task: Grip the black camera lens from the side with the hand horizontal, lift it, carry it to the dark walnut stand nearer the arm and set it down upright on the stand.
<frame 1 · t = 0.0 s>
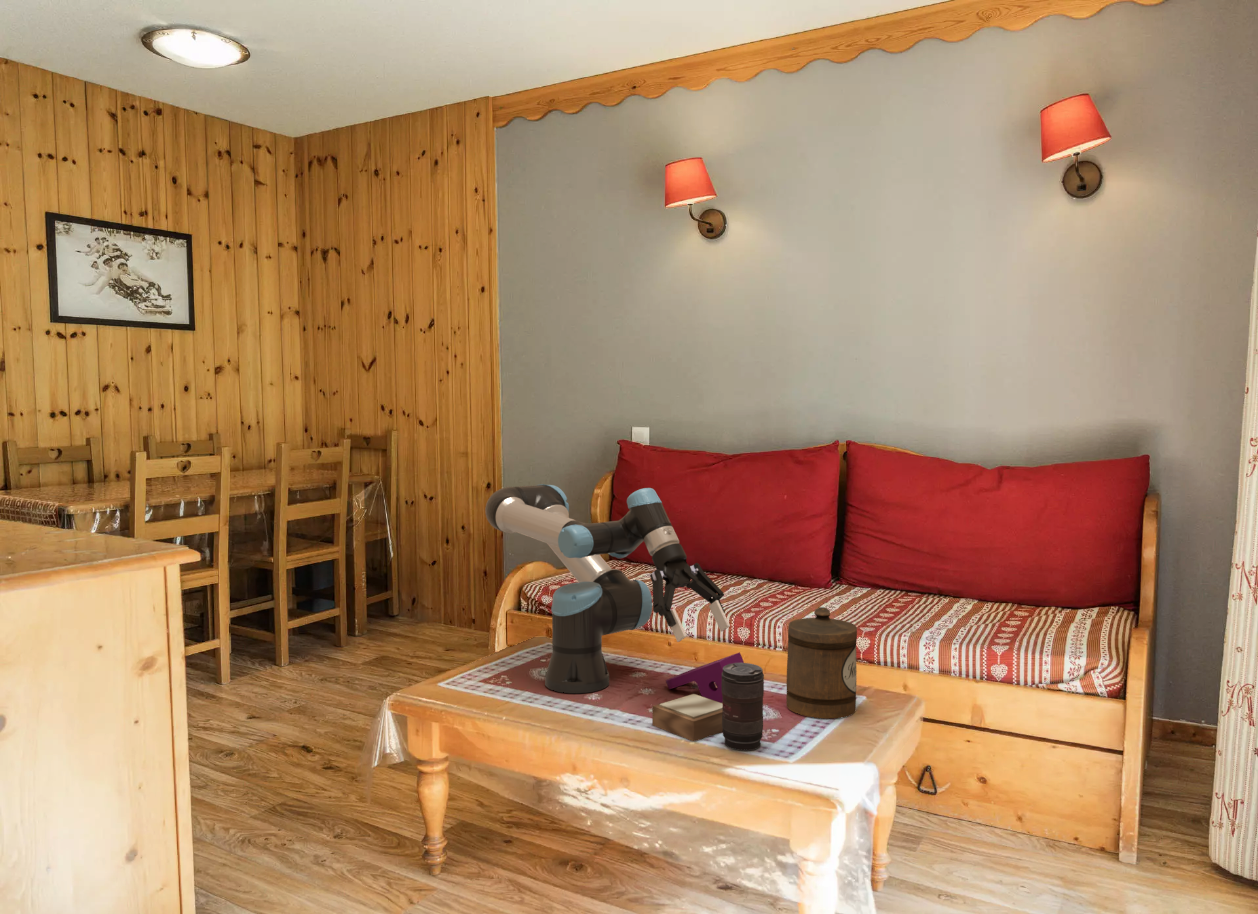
hand: (704, 634, 194), 15 cm above the table, tool tilted 35°, fingers open, 13 cm apart
mounting bracket: (703, 694, 202), on the table
stand: (693, 726, 180), on the table
camera lens: (742, 745, 170), on the table
wooden container: (820, 708, 191), on the table
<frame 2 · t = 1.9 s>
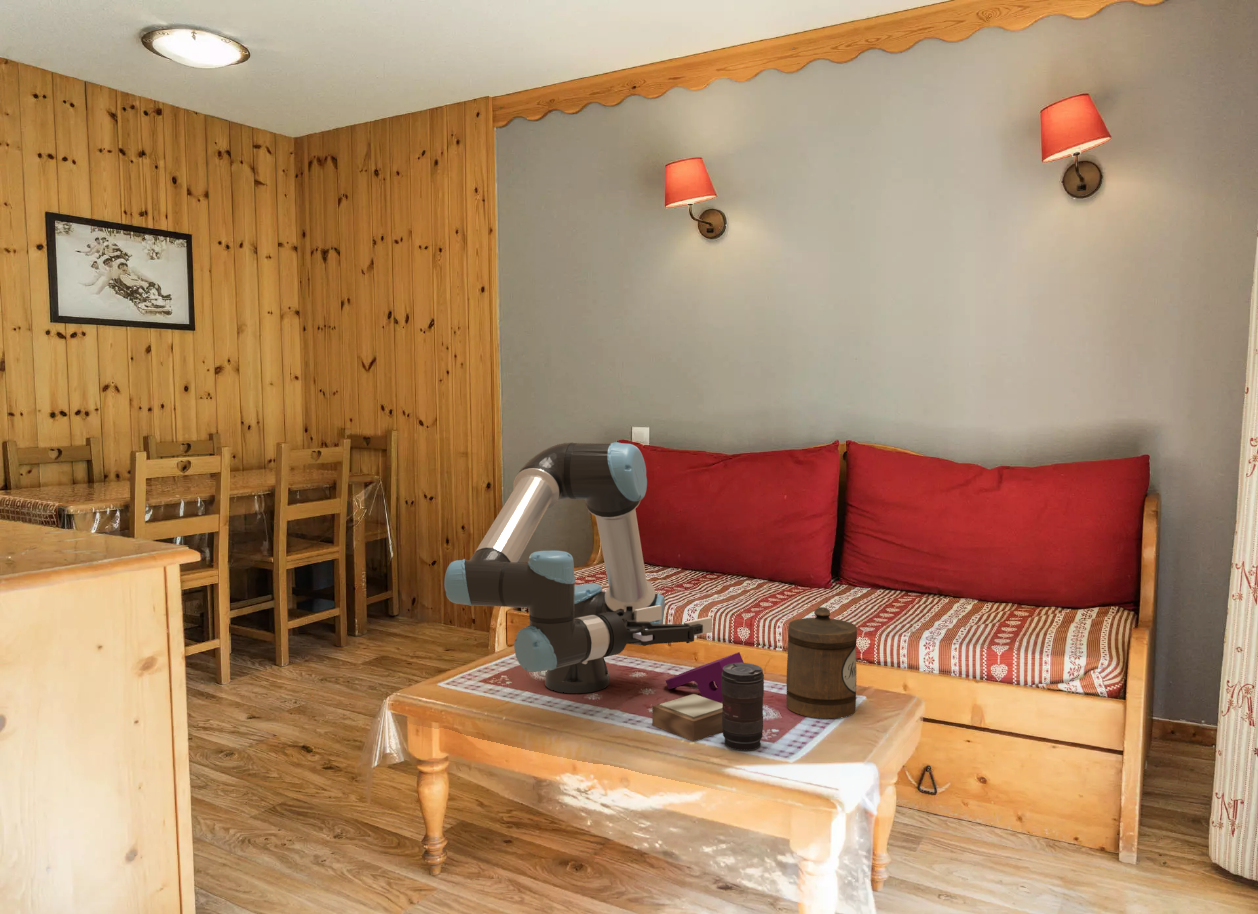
hand: (684, 618, 167), 25 cm above the table, tool horizontal, fingers open, 13 cm apart
nothing on the table moved.
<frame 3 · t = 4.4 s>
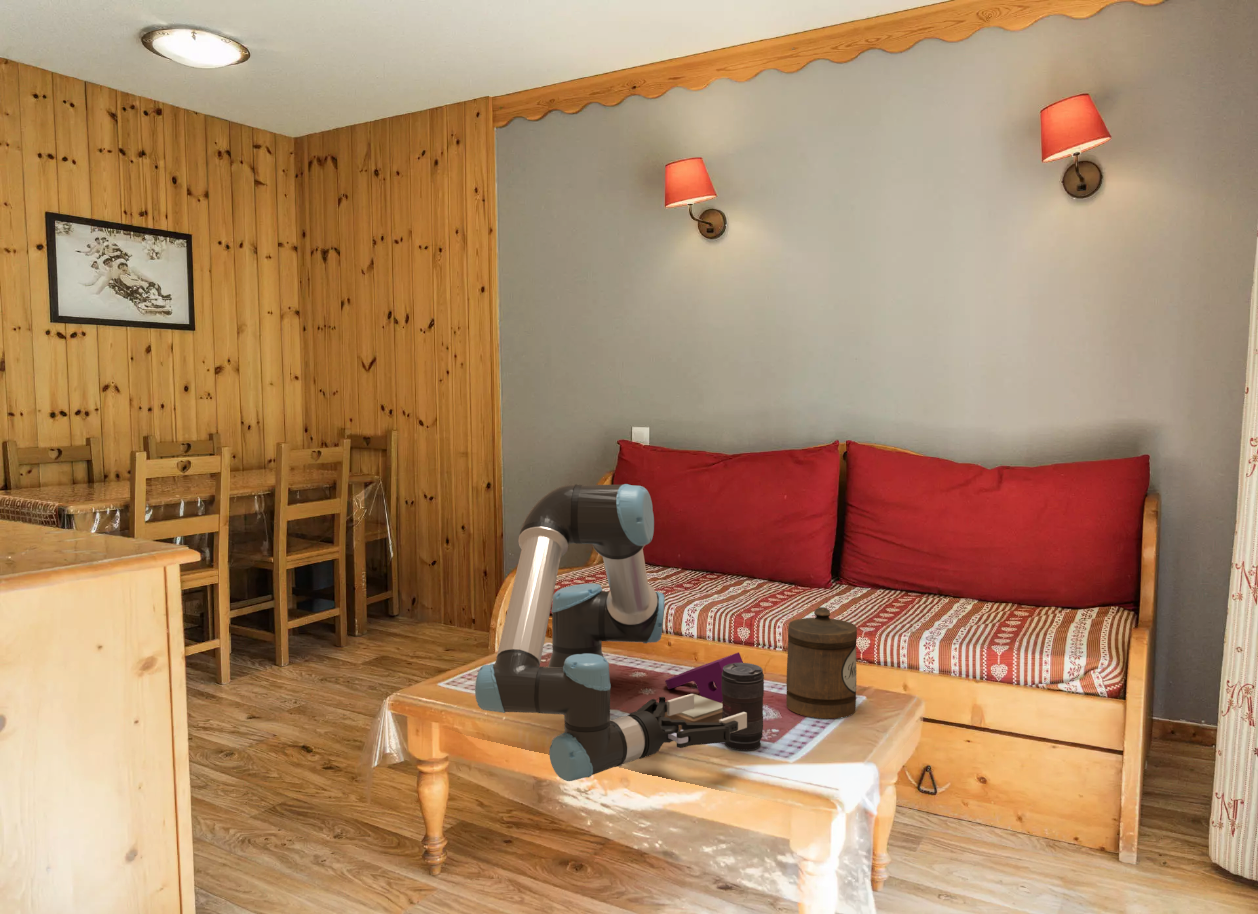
hand: (718, 709, 165), 8 cm above the table, tool horizontal, fingers open, 13 cm apart
nothing on the table moved.
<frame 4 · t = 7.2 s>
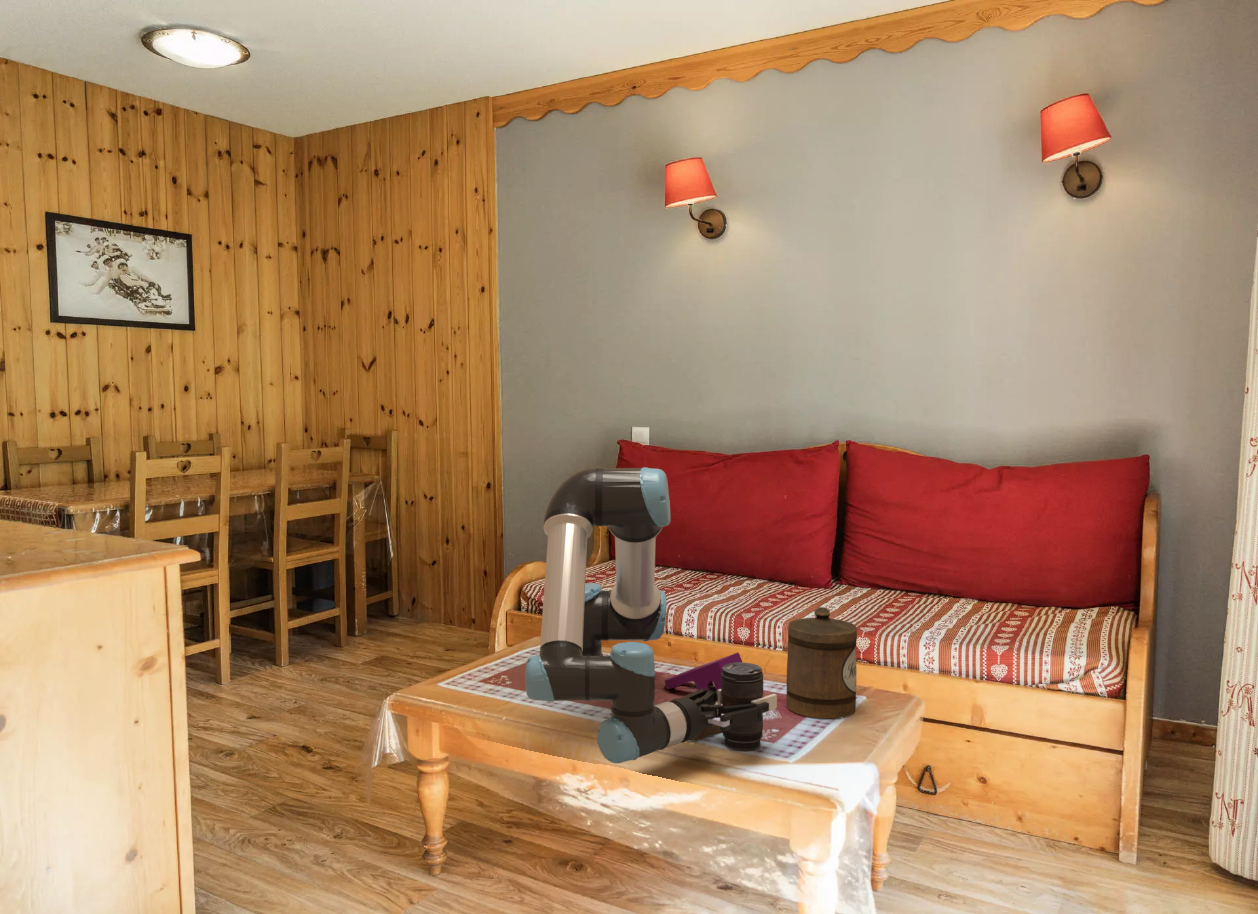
hand: (757, 695, 173), 9 cm above the table, tool horizontal, fingers closed on camera lens, 8 cm apart
camera lens: (742, 745, 170), on the table, touching gripper
everything else where it was.
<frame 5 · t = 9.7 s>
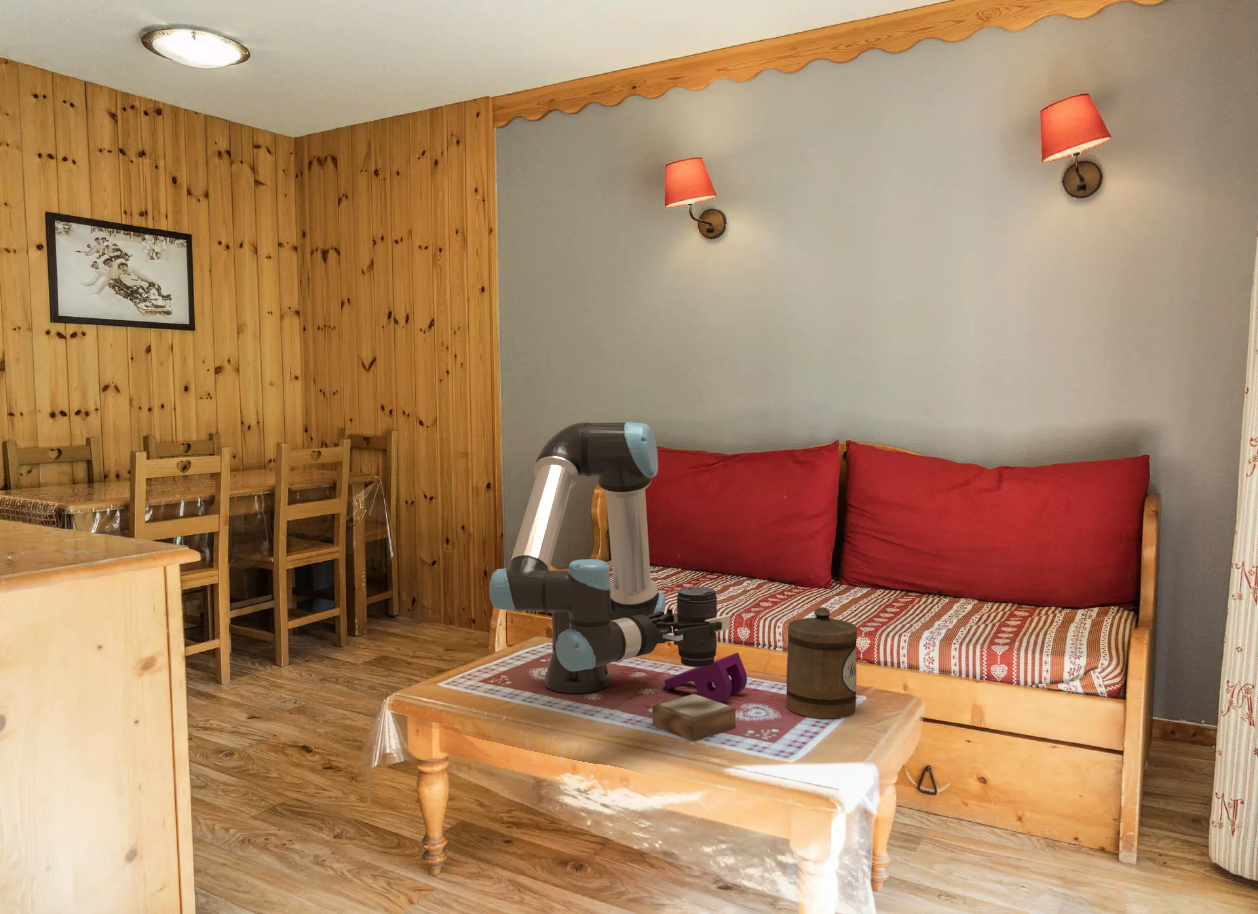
hand: (712, 618, 182), 22 cm above the table, tool horizontal, fingers closed on camera lens, 8 cm apart
camera lens: (697, 664, 179), point 13 cm above the table, touching gripper
everything else where it was.
when the fingers open (13 cm above the table, at t = 12.2 s): camera lens moves 2 cm, resting on stand.
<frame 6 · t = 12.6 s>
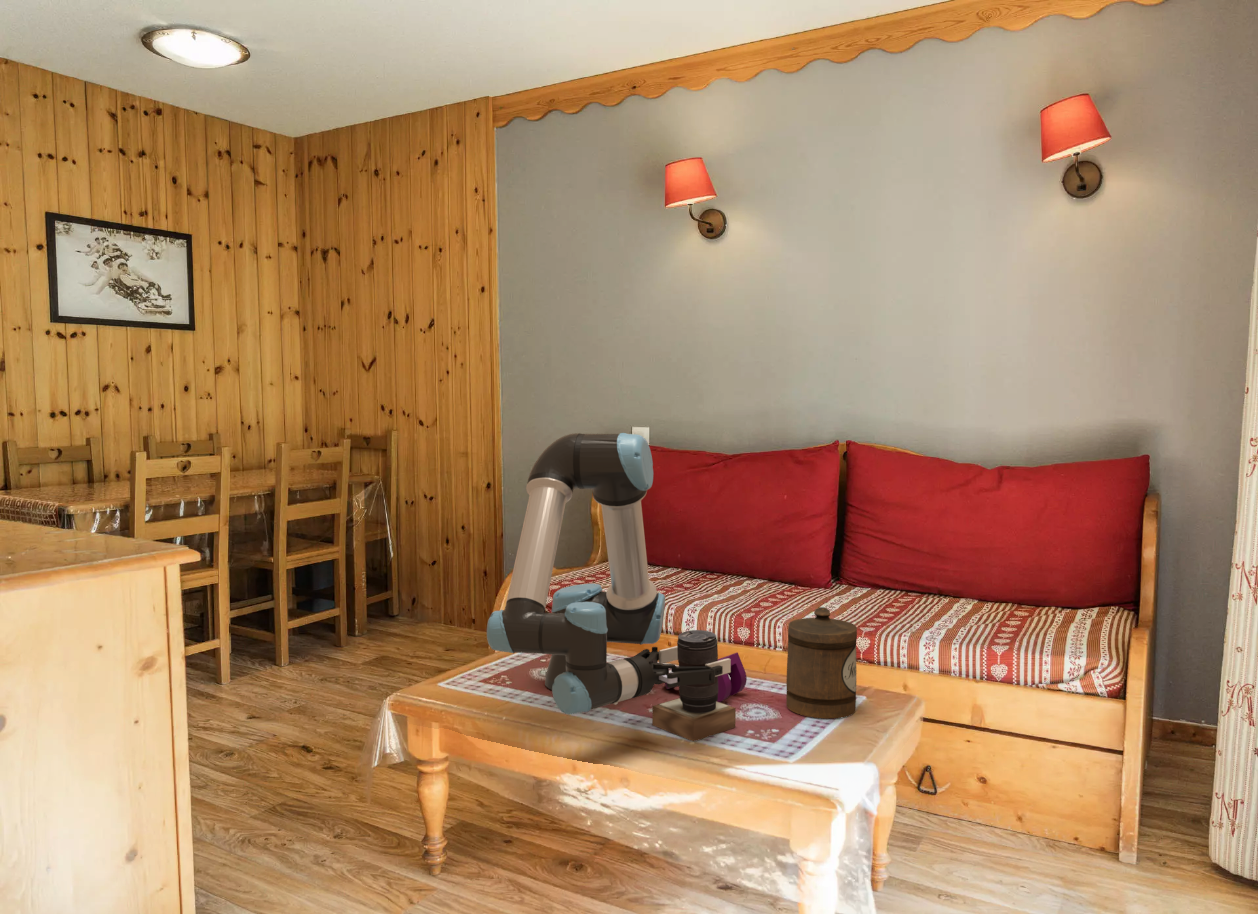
hand: (705, 658, 181), 13 cm above the table, tool horizontal, fingers open, 13 cm apart
camera lens: (699, 708, 177), point 4 cm above the table, touching gripper, stand
everything else where it was.
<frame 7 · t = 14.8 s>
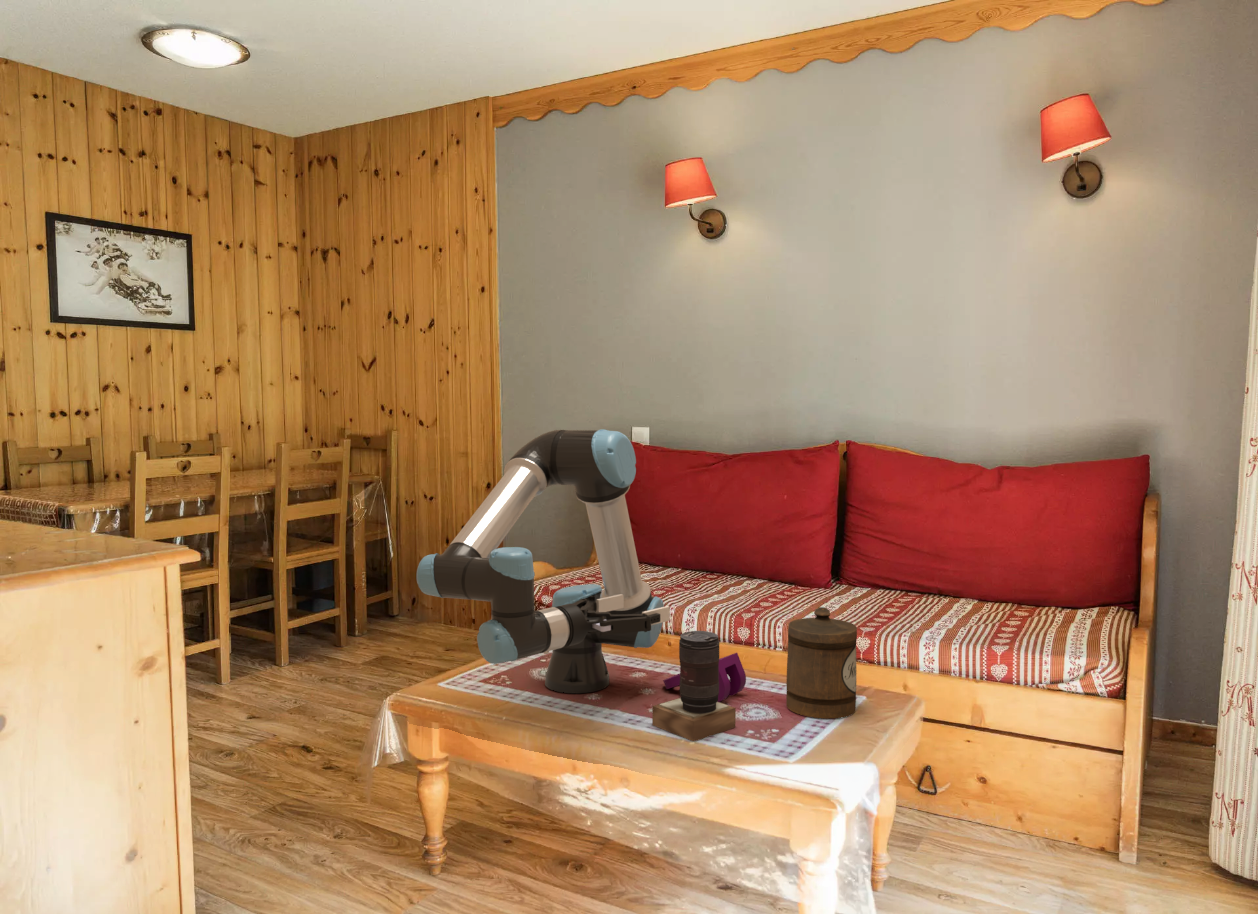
hand: (644, 606, 174), 26 cm above the table, tool horizontal, fingers open, 13 cm apart
camera lens: (699, 709, 177), point 4 cm above the table, touching stand
everything else where it was.
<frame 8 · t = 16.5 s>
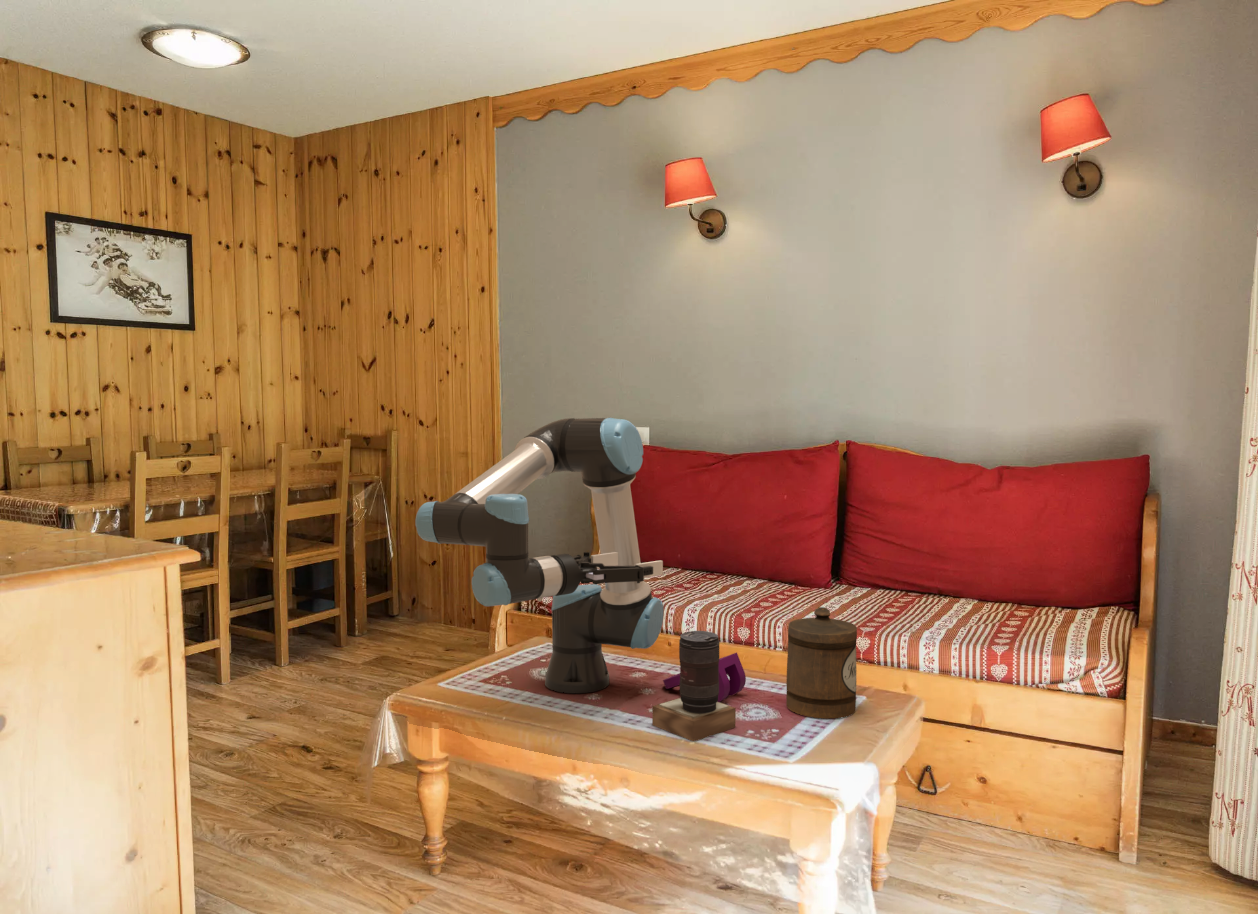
hand: (638, 562, 176), 34 cm above the table, tool horizontal, fingers open, 13 cm apart
nothing on the table moved.
at the end: camera lens inside the target area on the stand (2.3 cm from its centre), point 4.2 cm above the stand's base; camera lens tilted 0°; the gripper is holding nothing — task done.
